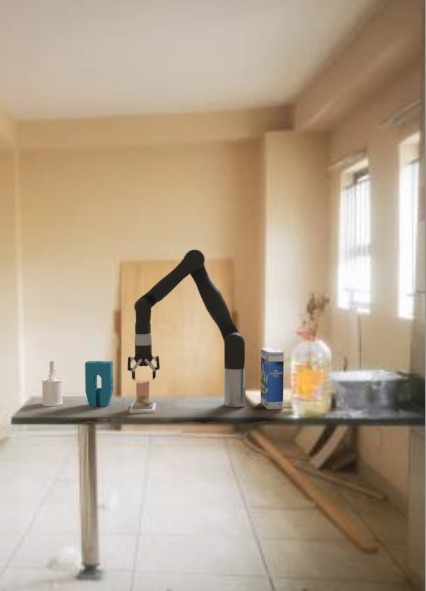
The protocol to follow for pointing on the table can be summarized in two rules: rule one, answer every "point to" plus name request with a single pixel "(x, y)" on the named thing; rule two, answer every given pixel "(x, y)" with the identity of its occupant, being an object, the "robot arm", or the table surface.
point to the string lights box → (272, 378)
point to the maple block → (143, 401)
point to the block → (106, 373)
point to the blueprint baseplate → (142, 408)
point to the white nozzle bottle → (52, 388)
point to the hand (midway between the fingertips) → (143, 379)
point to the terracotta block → (142, 388)
